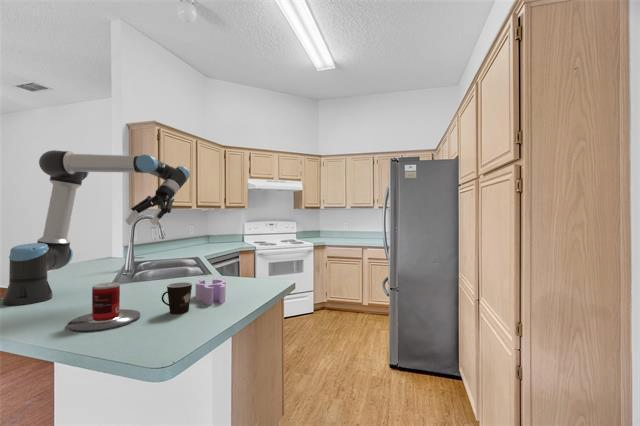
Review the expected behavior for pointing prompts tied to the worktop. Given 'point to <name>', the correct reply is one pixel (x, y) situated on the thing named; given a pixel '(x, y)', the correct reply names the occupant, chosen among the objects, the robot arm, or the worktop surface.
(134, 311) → the plate
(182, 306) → the coffee mug
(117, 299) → the canned food
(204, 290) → the clip
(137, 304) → the worktop surface
